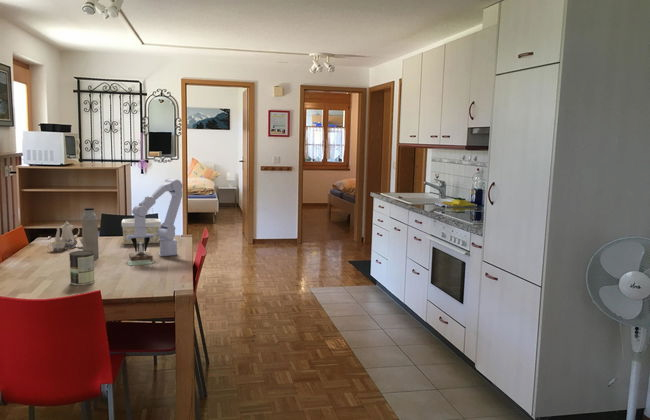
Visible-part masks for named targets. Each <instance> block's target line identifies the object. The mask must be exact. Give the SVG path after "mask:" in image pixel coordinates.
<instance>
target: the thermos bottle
mask: <svg viewBox="0 0 650 420" xmlns="http://www.w3.org/2000/svg"><path fill="white" fill-rule="evenodd" d="M98 225H99V224H98V217H97V214H96V213H95V208H93V207H86V208H84V212H83V214H82V218H81V234H82V235H81V237H82V242H83V245H82V251H84V250H87V251H93V252H94V260H96V259H99V256H100V254H99V253H100V252H99V226H98Z"/></svg>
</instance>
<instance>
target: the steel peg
mask: <svg viewBox="0 0 650 420" xmlns="http://www.w3.org/2000/svg"><path fill="white" fill-rule="evenodd" d="M144 246H145V244H144V243H138V244H137V253H138V256H139V255H144V252H145V251H144Z"/></svg>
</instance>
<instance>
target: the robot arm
mask: <svg viewBox="0 0 650 420" xmlns="http://www.w3.org/2000/svg"><path fill="white" fill-rule="evenodd" d="M183 187H184V186H183V183H182V181H181V180H179V179H172V178H166V179H165V180H164V181H162V182H161V185H160V186H159V187H158V188H157V189H156V190H155V191H154V192H153V193H152V194H151V195H147V196H145V197H144V199H143V200H142V201H141V202H139V203H138V205H135V206H134V207H133V209H132V210H131V212H132V215H133V219H135V235H126V239H131V240H132V242H133V244H132V245H133V247H134V251H135V252H134V253H138V244H137V240H136V239H139V238H144V252H147V248H148V245H149V241H150V238H154V234H146V224H145V219H146V215H147V214H148V211H149V210H150V209H151V208H152V207H153V206H154V205H155V204H156V200H157V199H159V198H160V197H162V196H163V194H165V193H166V192H168V193H169V194H170V195H171V198H170V202H169V205H168V208H167V211H166V213H165V214H166V215H165V217H164V218H165V219H164V222H163V223H162V222H161V226H160V228H159V229H158V231H157V235H158V237H159V252H158V255H159V256H160V257H167V256H177V255H178V244H177V243H178V242H177V239H176V238H175V235H176V226H175V221H176V218H177V215H178V211H179V208H180V204H181V202H182V198H183ZM137 237H138V238H137Z"/></svg>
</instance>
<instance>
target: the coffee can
mask: <svg viewBox="0 0 650 420" xmlns="http://www.w3.org/2000/svg"><path fill="white" fill-rule="evenodd" d="M68 255H69V270H70V271H69V272H70V273H69V275H70V276H69V278H70V284H71V285H73V286H86V285H91V284H94V283H95V261H94V260H95V259H94V252H93V251H87V250H84V251H83V250H75V251H72V252H71V251H70V253H69V254H68Z"/></svg>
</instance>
